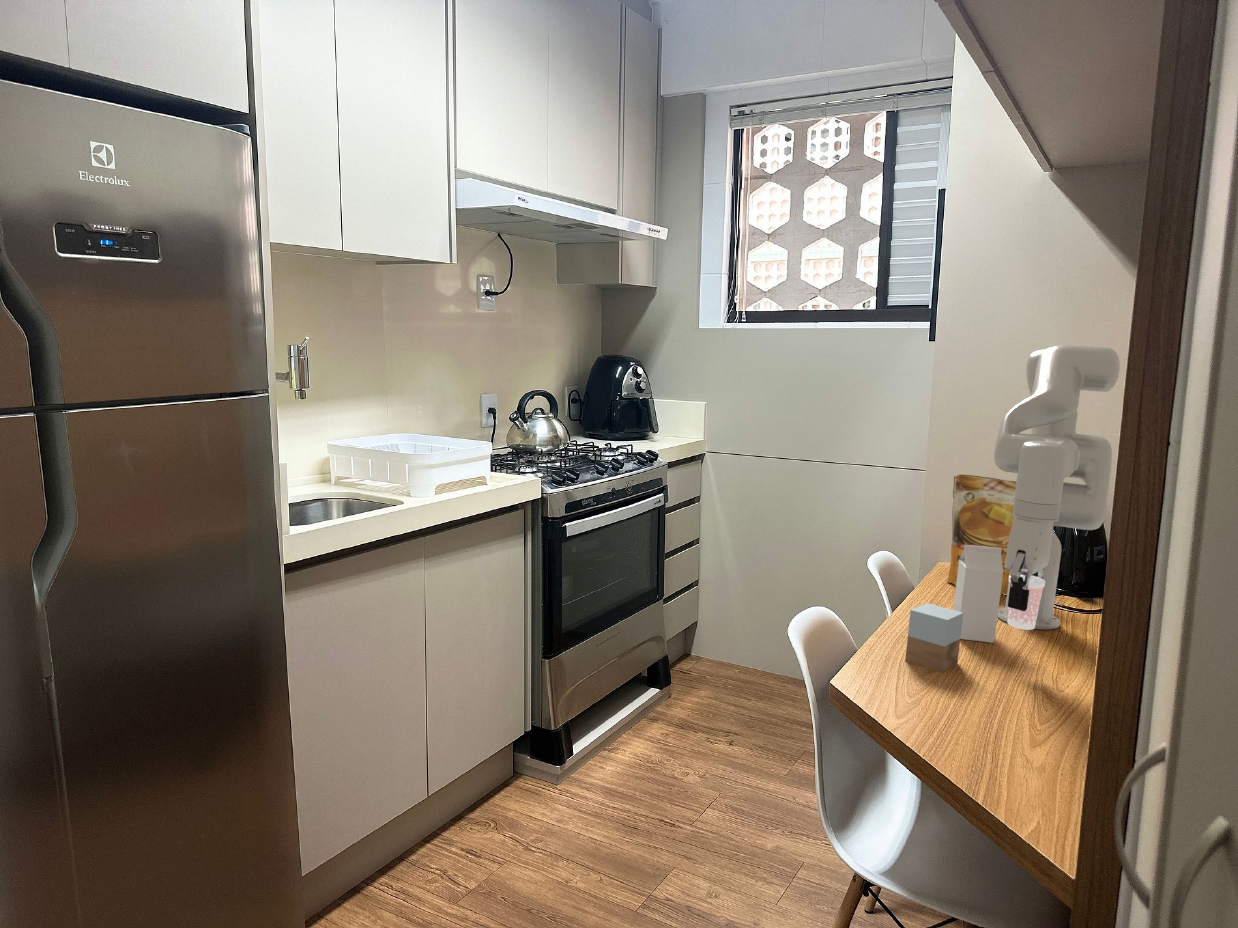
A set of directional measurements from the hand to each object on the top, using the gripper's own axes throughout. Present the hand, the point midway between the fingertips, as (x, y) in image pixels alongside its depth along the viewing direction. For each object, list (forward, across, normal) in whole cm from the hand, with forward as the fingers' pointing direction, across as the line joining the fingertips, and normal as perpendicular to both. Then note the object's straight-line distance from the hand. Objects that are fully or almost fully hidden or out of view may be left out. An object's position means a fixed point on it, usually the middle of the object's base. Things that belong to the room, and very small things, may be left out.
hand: (1023, 603), depth 154 cm
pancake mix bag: (+15, -50, -26) cm, 58 cm away
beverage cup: (+4, 0, 0) cm, 4 cm away
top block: (+7, +10, -12) cm, 17 cm away
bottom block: (+12, +11, -12) cm, 20 cm away
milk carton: (+13, -11, -13) cm, 22 cm away
